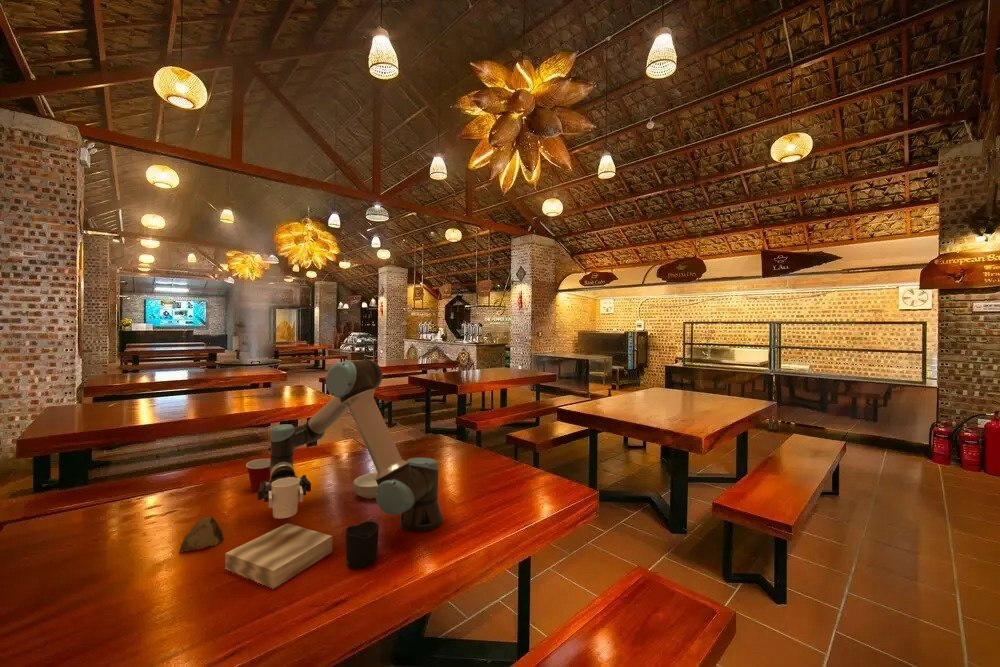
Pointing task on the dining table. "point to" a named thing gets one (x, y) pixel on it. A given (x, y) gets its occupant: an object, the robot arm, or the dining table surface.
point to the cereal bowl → (366, 485)
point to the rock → (202, 535)
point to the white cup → (285, 497)
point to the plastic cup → (258, 472)
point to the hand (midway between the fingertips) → (286, 500)
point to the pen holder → (362, 545)
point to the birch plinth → (278, 554)
